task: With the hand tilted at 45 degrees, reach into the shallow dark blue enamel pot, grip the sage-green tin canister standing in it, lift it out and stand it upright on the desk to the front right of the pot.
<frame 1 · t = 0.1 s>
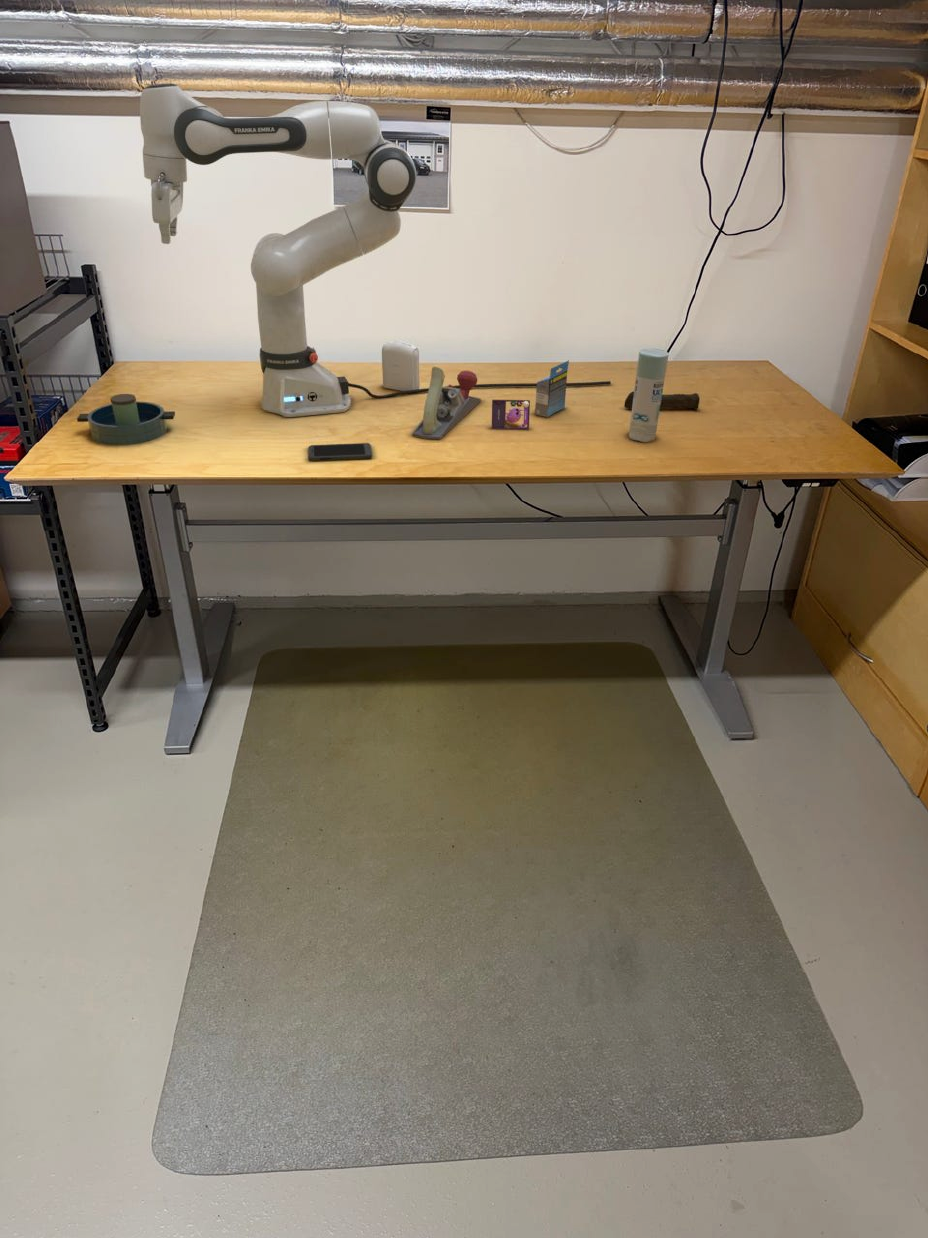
hand: (169, 239, 193), 39 cm above the table, tool pointing down, fingers open, 8 cm apart
purple cartoon box: (509, 426, 208), on the table
cell phone: (340, 454, 191), on the table
spray paint can: (641, 438, 204), on the table
hand tool: (661, 410, 220), on the table
photo printer: (401, 389, 229), on the table
canister: (126, 414, 197), in the pot
tape cartridge: (549, 412, 217), on the table
hand plane: (448, 417, 212), on the table
pot ear handles: (126, 416, 197), point 3 cm above the table
pot: (129, 432, 199), on the table
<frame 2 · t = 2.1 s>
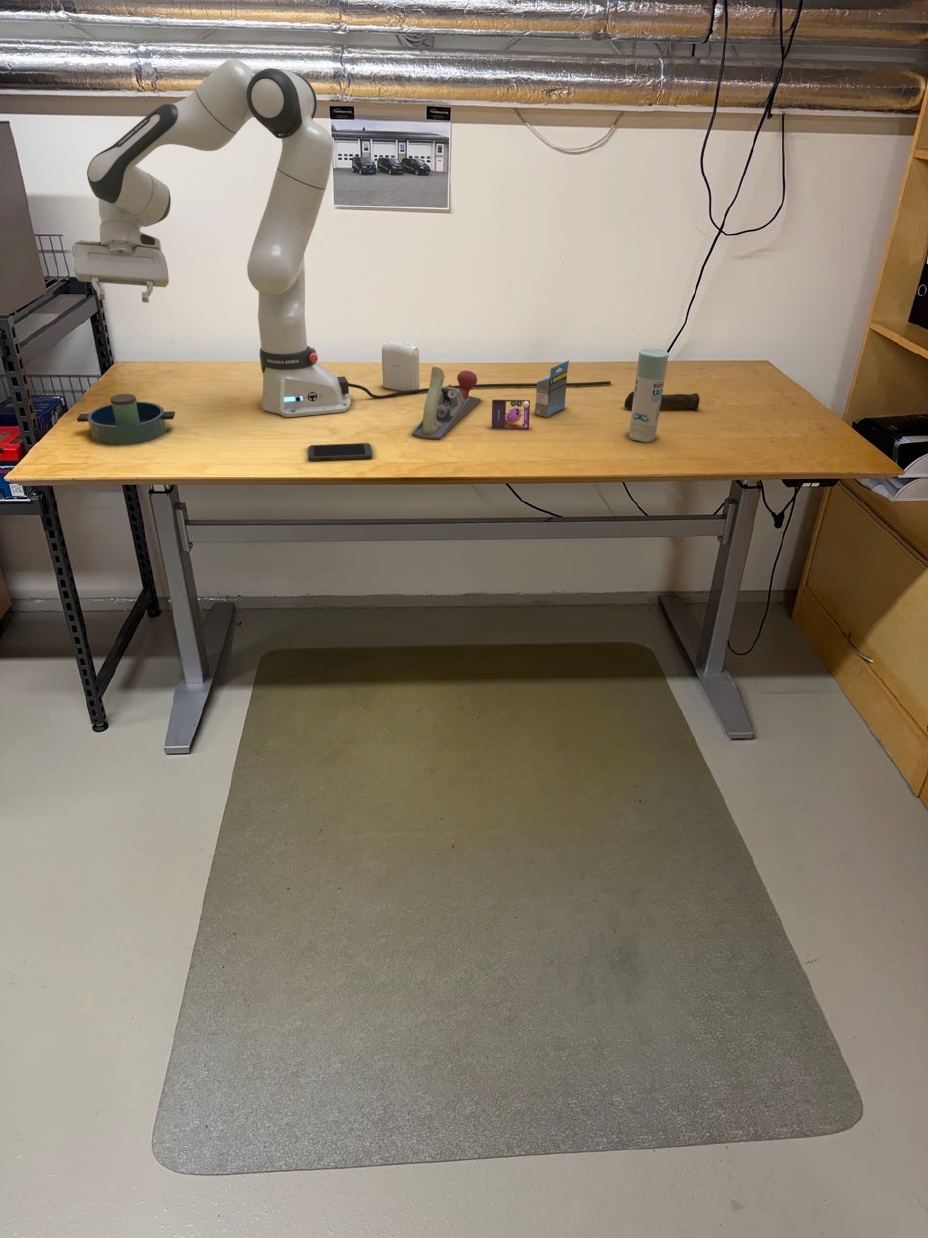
hand: (123, 299, 197), 26 cm above the table, tool tilted 40°, fingers open, 8 cm apart
nothing on the table moved.
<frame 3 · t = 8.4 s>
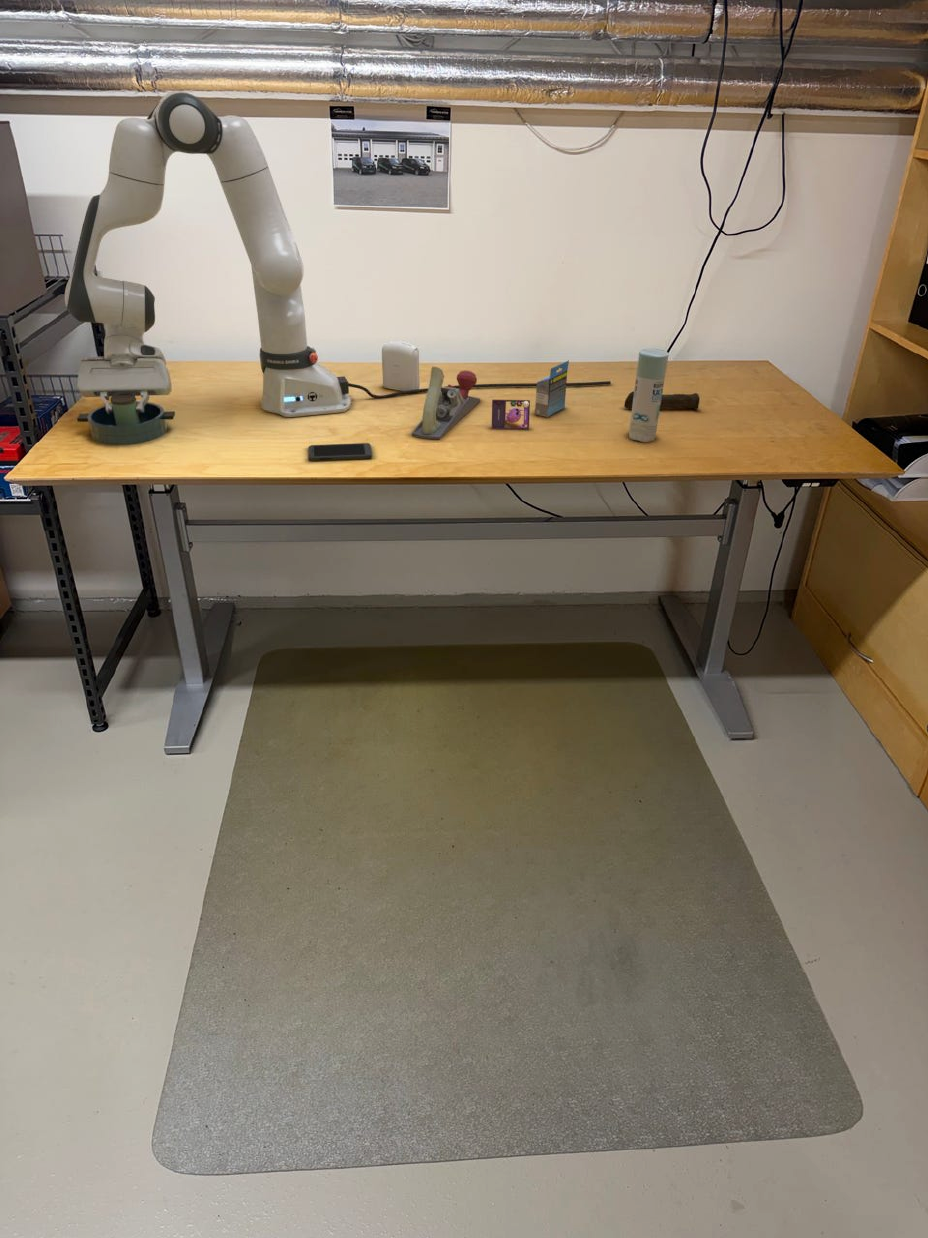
hand: (125, 412, 196), 5 cm above the table, tool tilted 45°, fingers closed on canister, 5 cm apart
canister: (126, 414, 197), in the pot, touching gripper
everything else where it was.
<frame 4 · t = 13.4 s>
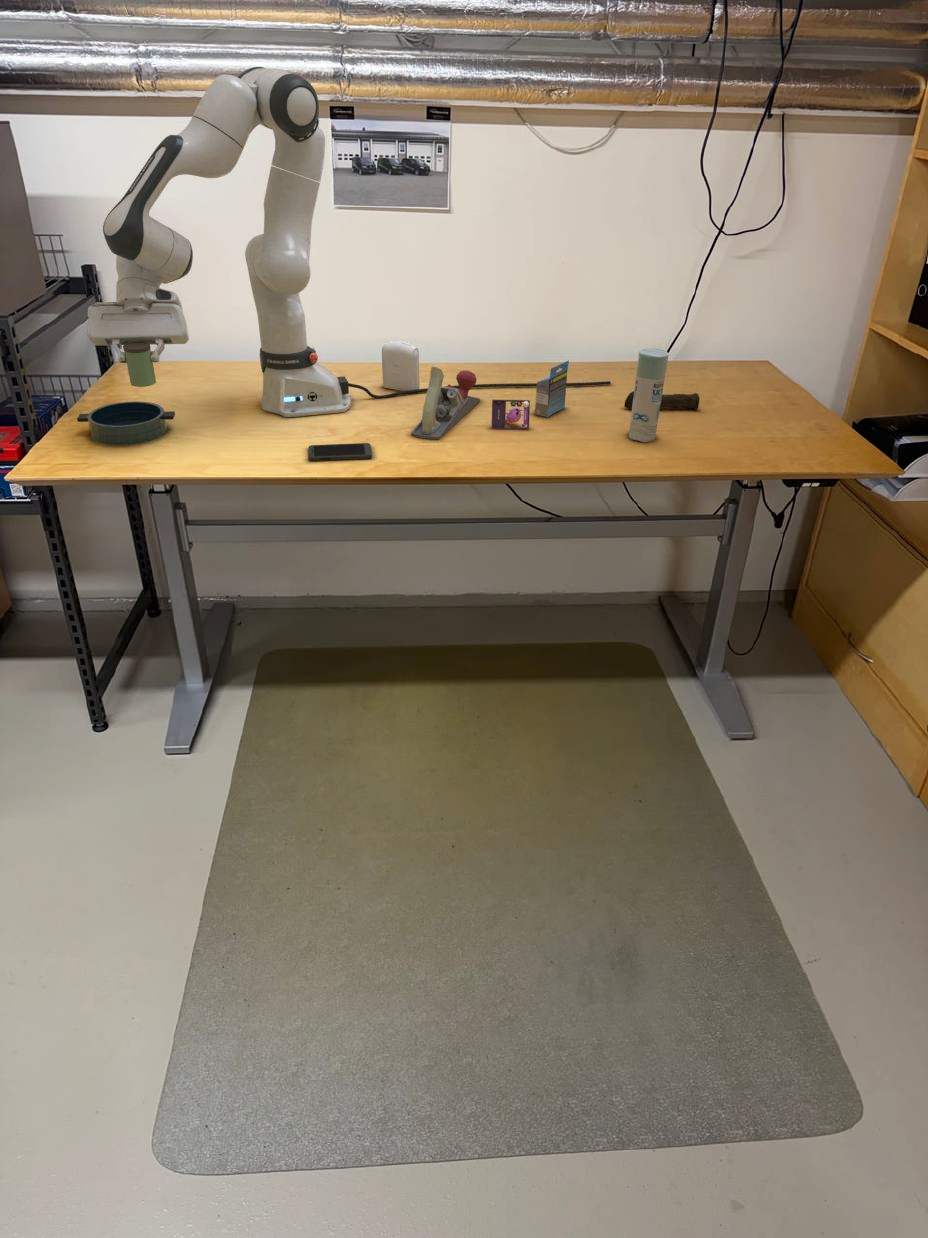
hand: (139, 361, 181), 19 cm above the table, tool tilted 45°, fingers closed on canister, 5 cm apart
canister: (140, 364, 182), point 18 cm above the table, touching gripper
everything else where it was.
when the fingers open (5 cm above the table, at t = 18.4 s): canister stays where it is, on the table.
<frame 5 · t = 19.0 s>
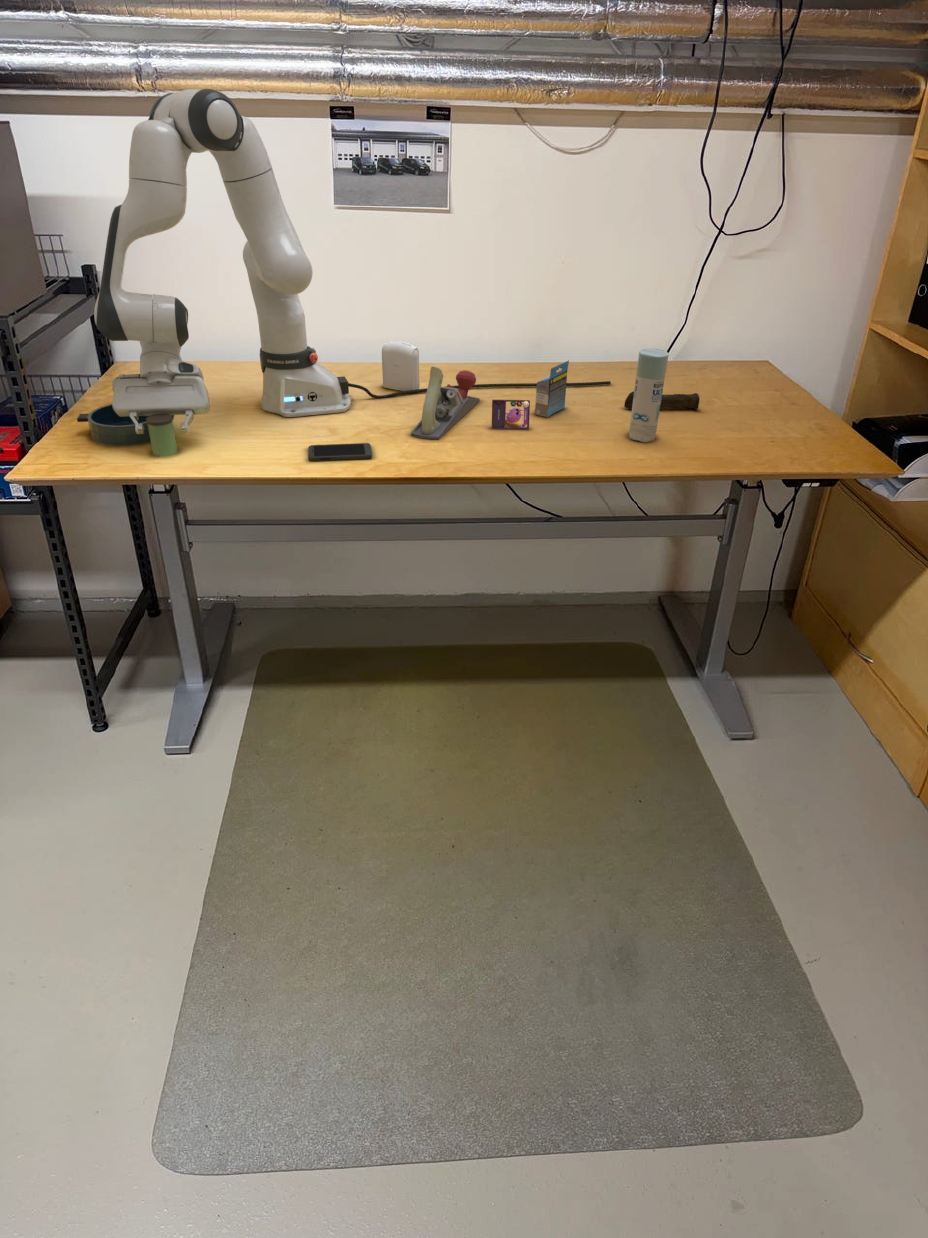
hand: (162, 432, 187), 5 cm above the table, tool tilted 45°, fingers open, 8 cm apart
canister: (162, 435, 188), on the table
everything else where it was.
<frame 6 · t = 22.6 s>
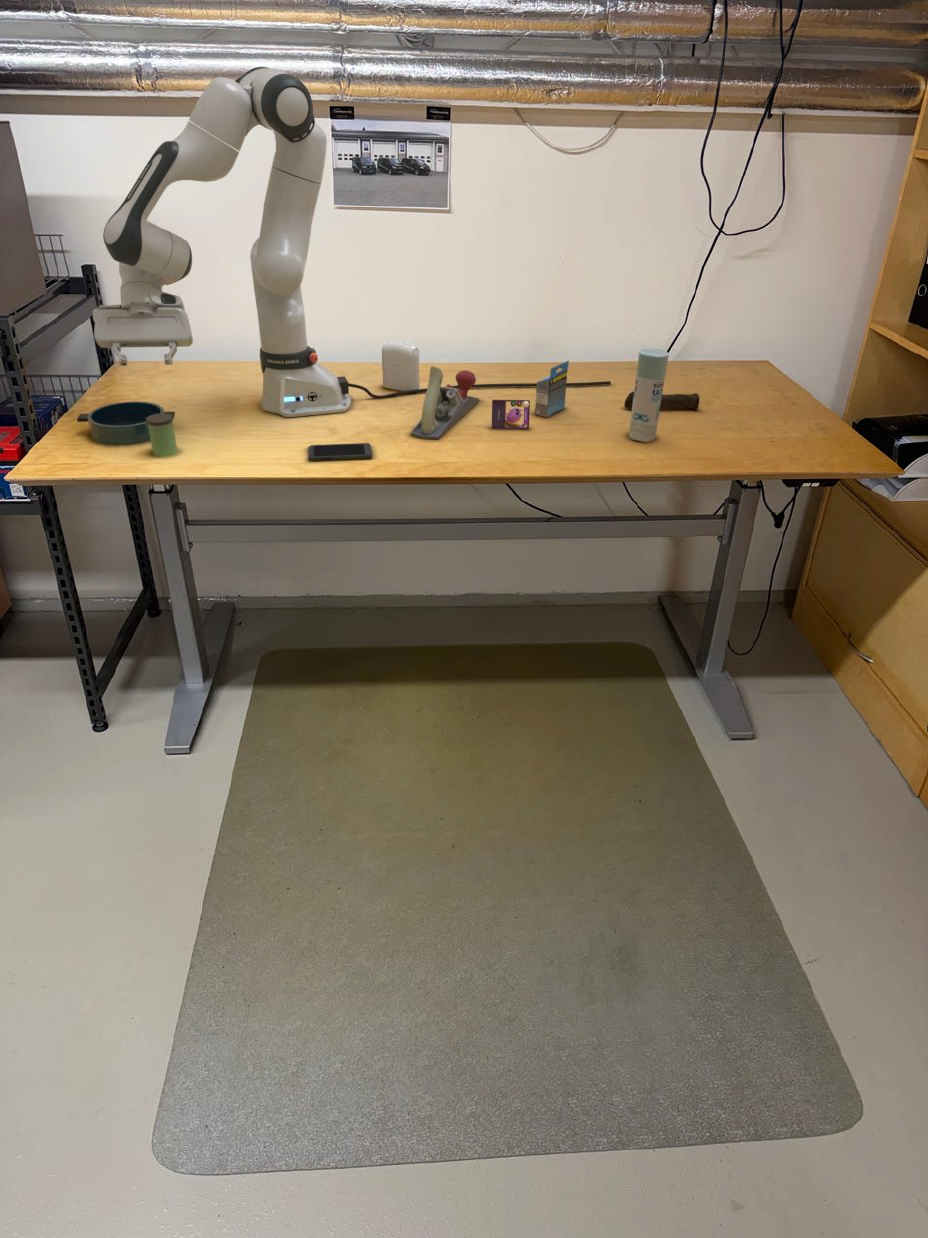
hand: (146, 363, 187), 17 cm above the table, tool tilted 40°, fingers open, 8 cm apart
nothing on the table moved.
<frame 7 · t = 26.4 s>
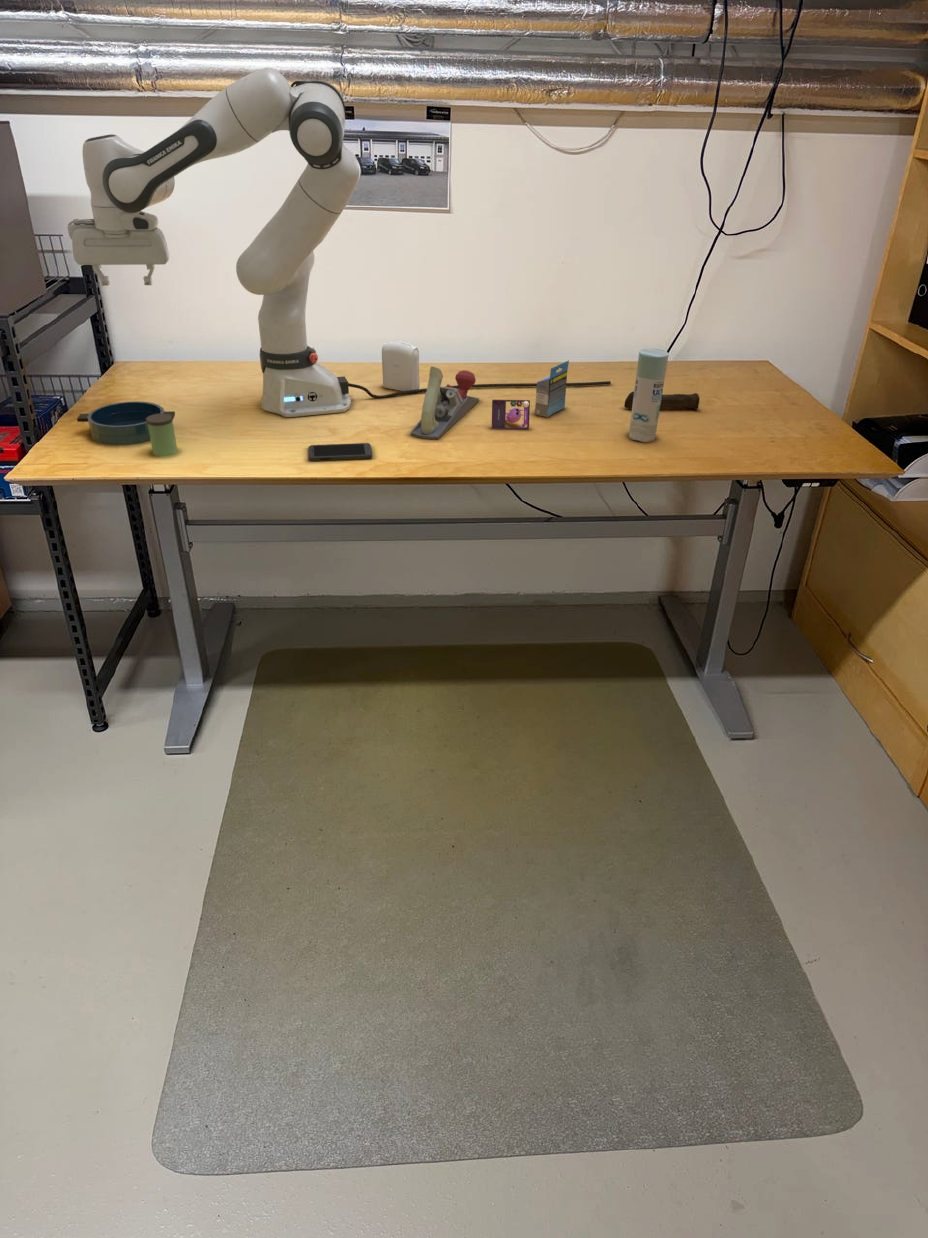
hand: (127, 284, 197), 29 cm above the table, tool pointing down, fingers open, 8 cm apart
nothing on the table moved.
at the end: canister inside the target area (0.2 cm from its centre), on the table; canister tilted 0°; canister touching table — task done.
